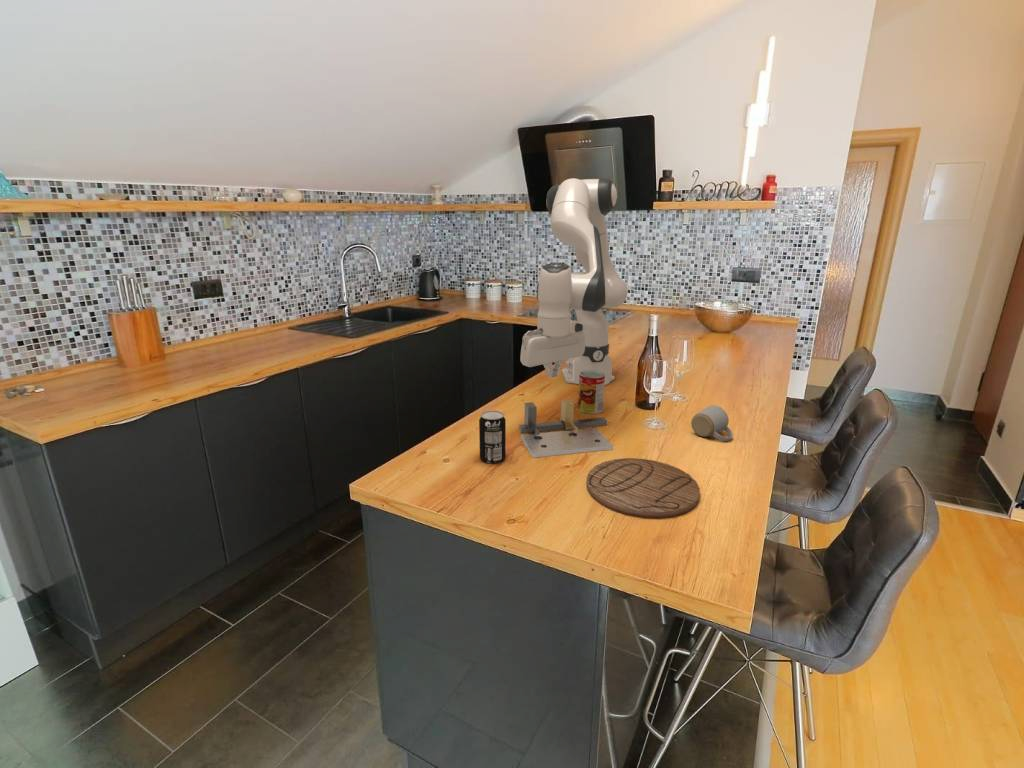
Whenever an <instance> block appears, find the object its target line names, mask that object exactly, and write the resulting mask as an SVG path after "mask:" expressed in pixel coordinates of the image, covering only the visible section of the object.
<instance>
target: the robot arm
mask: <svg viewBox="0 0 1024 768" xmlns="http://www.w3.org/2000/svg"><path fill="white" fill-rule="evenodd" d="M617 199H618V191H617V188H616V186H615V183H614V182H613V180H612V179H610V178H607V177H606V178H605V177H600V178H588V179H587V178H586V179H579V178H575V177H574V178H573V177H572V178H568V179H565V180H563V182H561V183H557V184H555V185H553V186H551V187H550V189H549V190H548V191H547V193H546V208H547V211H548V214H549V215H550V228H551V232H552V234H553V235H554V236H555V237H556V238H557V239H558V241H560V242H561V243H563V244H564V245H568V246H571V247H574V250H575V258H576V260H577V262H578V263H579V264H580V265H581V266H582V267H583V269H584V270H585V271H581V272H575V273H574V272H573V273H572V271H571V267H570V265H568V264H566V263H563V262H550V263H546V264H544V265H542V266H541V269H540V272H539V278H538V282H537V285H536V300H537V302H538V307H539V308H538V311H537V329H533V330H527V331H526V333H524V334H523V336H522V342H521V349H520V356H519V357H520V358H519V359H520V362H521V364H522V366H525V367H528V368H532V367H536V366H540V365H543V367H544V369H545V371H546V377H547V378H548V379H551V378H556V377H559V376H560V369H561V374H562V376H563V379H564V381H565V382H566V383H568V384H574V385H575V384H576V385H579V373H580V372H581V371H584V370H597V371H601V372H604V373H605V383H604V386H607V385H608V384H610V383H611V381H614V380H615V379H616V378H615V376H614V375H613V373H612V370H613V368H612V363H613V362H612V358H611V356H610V355H609V354H610V344H609V334H610V332H609V330H610V323H609V321H608V319H607V317H606V316H605V314H604V313H603V312H602V308H605V309H607V308H609V309H611V308H618V307H621V306H622V305H623V304H624V303H625V302H626V299H627V297H628V286H627V283H626V281H625V280H624V279H623V278H622V277H621V276H620V274H618V272H617V271H616V269H615V267H614V264H613V261H612V259H611V255H610V250H609V241H608V231H607V230H608V229H607V228H608V227H607V221H606V216H607V215H608V214H609V213H611V212H612V211H613V209H615V206H616V203H617ZM571 310H574V313H575V317H576V320H574V319H572V312H571ZM565 360H566V361H565ZM563 361H564V362H563ZM553 363H554V365H553ZM563 364H565V368H562V365H563ZM552 366H553V368H552Z"/></svg>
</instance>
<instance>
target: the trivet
mask: <svg viewBox="0 0 1024 768" xmlns="http://www.w3.org/2000/svg"><path fill="white" fill-rule="evenodd" d="M585 481H586V490H587V492H588V494H589V496H590V497H591V498H592V499H593V500H594V501H596V502H597V503H598V504H599V505H601V506H602V507H604V508H607V509H609V510H610V511H612V512H616V513H618V514H621V515H625V516H628V517H633V518H638V519H639V518H640V519H653V520H654V519H656V520H659V519H660V520H661V519H669V518H672V519H673V518H675V517H679V516H683V515H687V514H688V513H689V512H690V511H692V510H693V509H695V508H696V506H697V505H698V503H699V502H700V493H701V492H700V489H701V488H700V485H699V484H698V482H697V481H696V480H695V479H694V478H693V477H692V476H691V475H690V474H689V473H687V472H686V471H684V470H682V469H680V468H678V467H676V466H674V465H670V464H669V463H665V462H661V461H657V460H652V459H646V458H635V457H634V458H631V457H626V458H616V459H612V460H611V459H610V460H607V461H603V462H601V463H599V464H596V465H595V466H594V467H593V468H591V469H590V470H589V471H588V474H587V476H586V480H585Z"/></svg>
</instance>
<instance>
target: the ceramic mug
mask: <svg viewBox="0 0 1024 768" xmlns="http://www.w3.org/2000/svg"><path fill="white" fill-rule="evenodd" d="M729 422H730V421H729V416H728V413H727V412H726V410H725V409H723V408H722V407H721V406H719V405H716V404H715V405H714V404H712V405H709V406H706V407H705V408H703V409H701V410H700V411H698V412H697V413H696V414H694V415H693V416H692V419H691V422H690V423H691V428H692V431H693V432H694V433H695V434H696V435H697V436H700V437H702V438H710V437H712V436H713V437H714V438H715V439H717V440H719V441H721V442H729V441H731V439H732V438H733V436H734V433H733V431H732V430H731V428H730V427H729V426H728V425H729ZM723 431H724V432H725V433H726V434H727V435H728V437H726V436H723V435H721V434H719V433H721V432H723Z"/></svg>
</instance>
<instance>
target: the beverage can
mask: <svg viewBox="0 0 1024 768" xmlns="http://www.w3.org/2000/svg"><path fill="white" fill-rule="evenodd" d="M478 421H479V422H478V424H479V425H478V427H479V428H478V430H479V436H478V438H479V457H480V460H482V461H483V462H485V463H488V464H497V463H501V462H502V461H503V460H504V459H505V458H506V455H507V454H506V453H507V451H506V447H507V445H506V443H507V439H506V435H507V434H506V431H507V430H506V424H507V423H506V421H507V420H506V418H505V414H504V413H503V411H499V410H486V411H483V412H482V413H480V418H479V419H478Z"/></svg>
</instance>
